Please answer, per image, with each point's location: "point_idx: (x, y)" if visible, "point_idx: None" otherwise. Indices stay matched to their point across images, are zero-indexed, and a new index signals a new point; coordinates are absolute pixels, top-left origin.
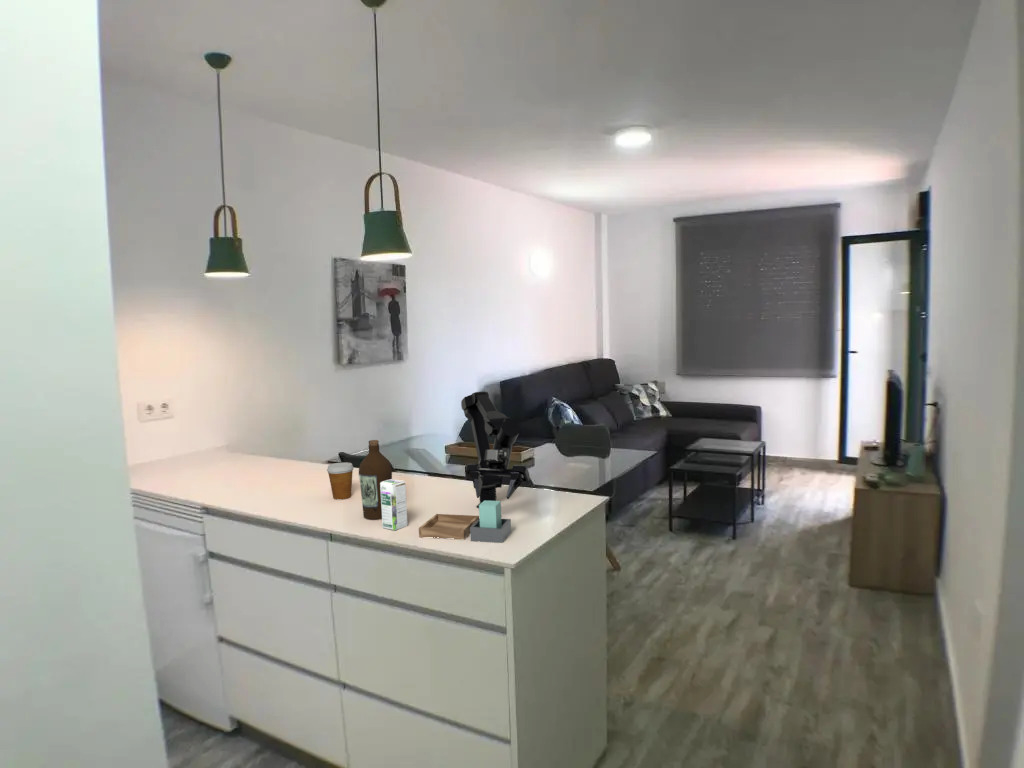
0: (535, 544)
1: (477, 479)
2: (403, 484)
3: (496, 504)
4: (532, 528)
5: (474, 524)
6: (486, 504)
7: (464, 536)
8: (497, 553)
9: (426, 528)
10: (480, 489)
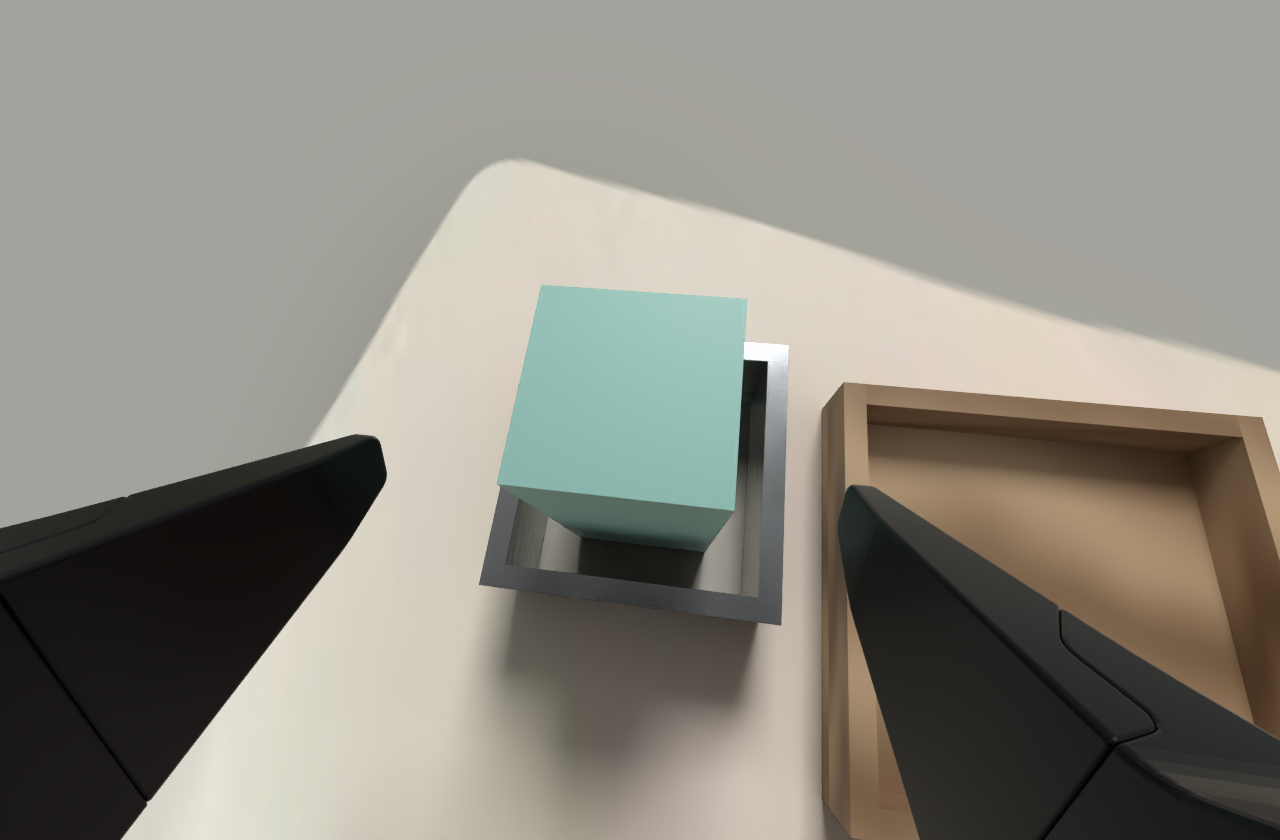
0: (362, 360)
1: (1181, 762)
2: None
3: (536, 336)
4: (355, 689)
5: (776, 418)
6: (659, 330)
7: (827, 413)
8: (567, 226)
9: (1182, 412)
10: (902, 725)
